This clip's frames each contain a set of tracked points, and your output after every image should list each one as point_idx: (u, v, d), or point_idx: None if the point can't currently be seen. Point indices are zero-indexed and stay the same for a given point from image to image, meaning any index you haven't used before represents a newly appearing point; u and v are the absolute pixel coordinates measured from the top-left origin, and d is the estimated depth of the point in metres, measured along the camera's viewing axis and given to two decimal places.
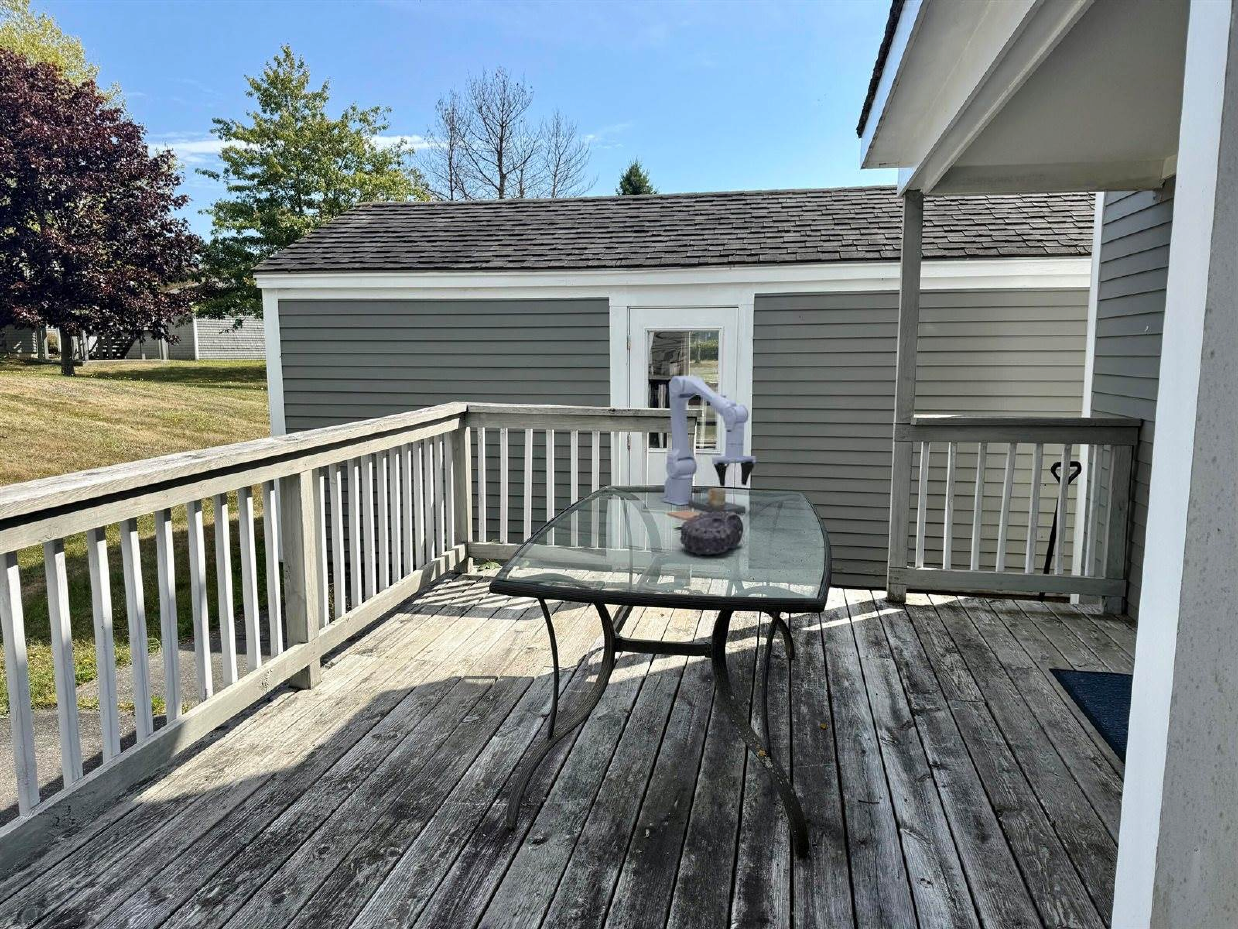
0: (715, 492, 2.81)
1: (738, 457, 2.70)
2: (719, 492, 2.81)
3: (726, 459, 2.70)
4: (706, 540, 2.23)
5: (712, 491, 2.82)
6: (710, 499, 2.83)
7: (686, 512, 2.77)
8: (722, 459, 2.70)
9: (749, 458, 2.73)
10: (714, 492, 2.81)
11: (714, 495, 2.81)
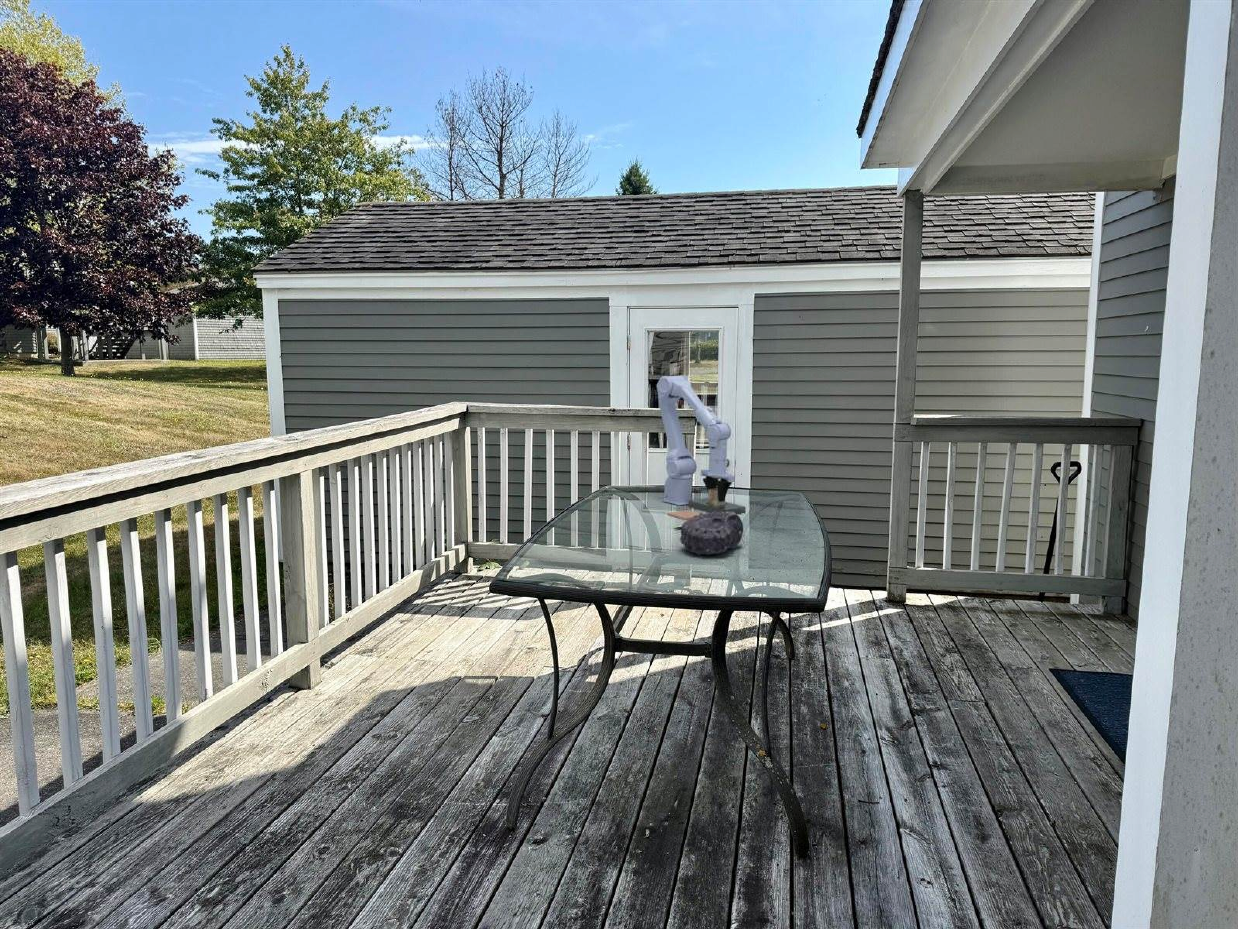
0: (715, 492, 2.81)
1: (711, 472, 2.80)
2: None
3: (705, 472, 2.84)
4: (706, 540, 2.23)
5: (712, 491, 2.82)
6: (710, 499, 2.83)
7: (686, 512, 2.77)
8: (704, 472, 2.85)
9: (723, 476, 2.77)
10: (714, 492, 2.81)
11: (714, 495, 2.81)
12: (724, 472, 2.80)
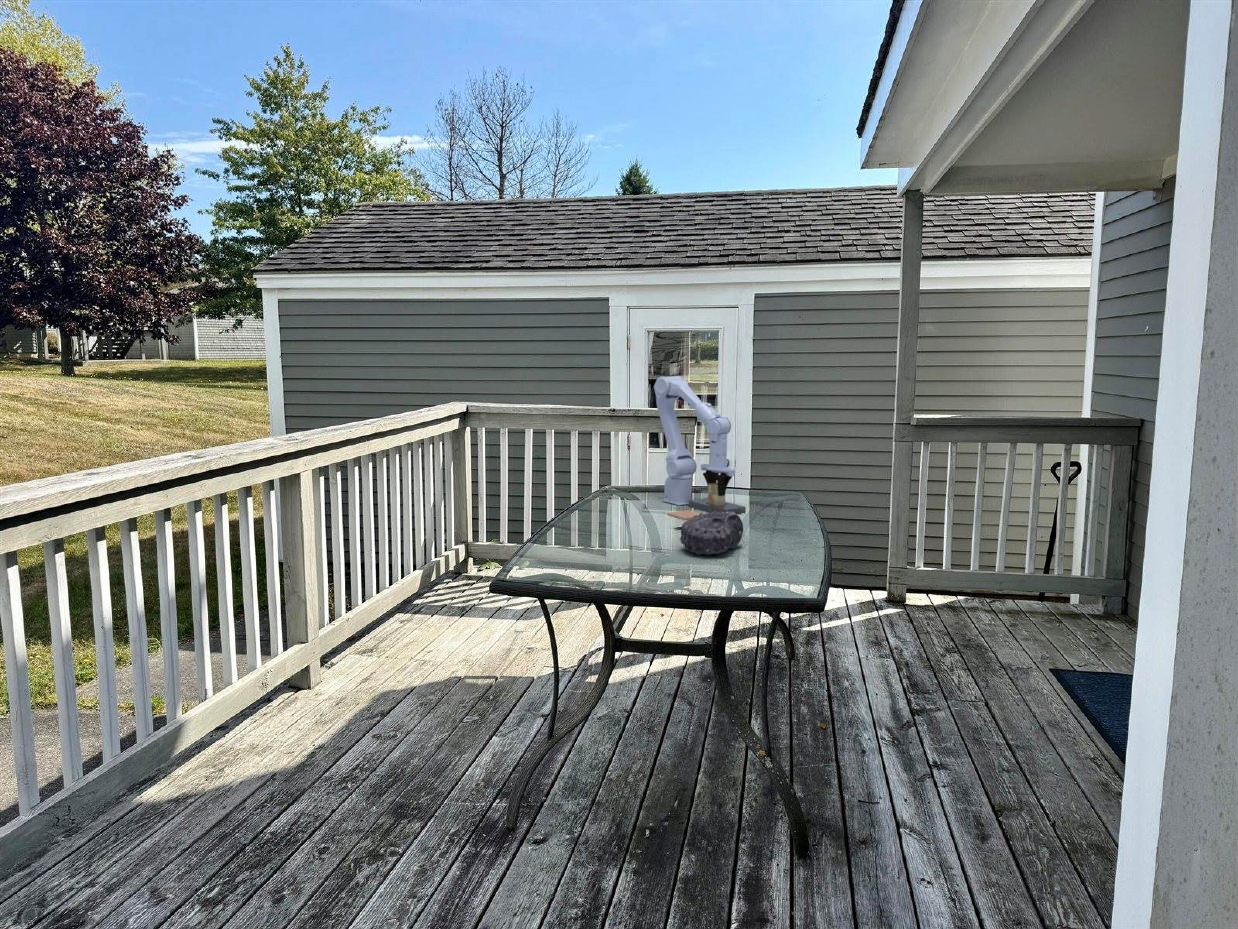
0: (715, 486, 2.80)
1: (711, 466, 2.80)
2: None
3: (706, 467, 2.83)
4: (706, 540, 2.23)
5: (712, 485, 2.81)
6: (710, 493, 2.82)
7: (686, 512, 2.77)
8: (704, 466, 2.85)
9: (724, 470, 2.77)
10: (714, 486, 2.81)
11: (714, 489, 2.81)
12: (724, 466, 2.80)
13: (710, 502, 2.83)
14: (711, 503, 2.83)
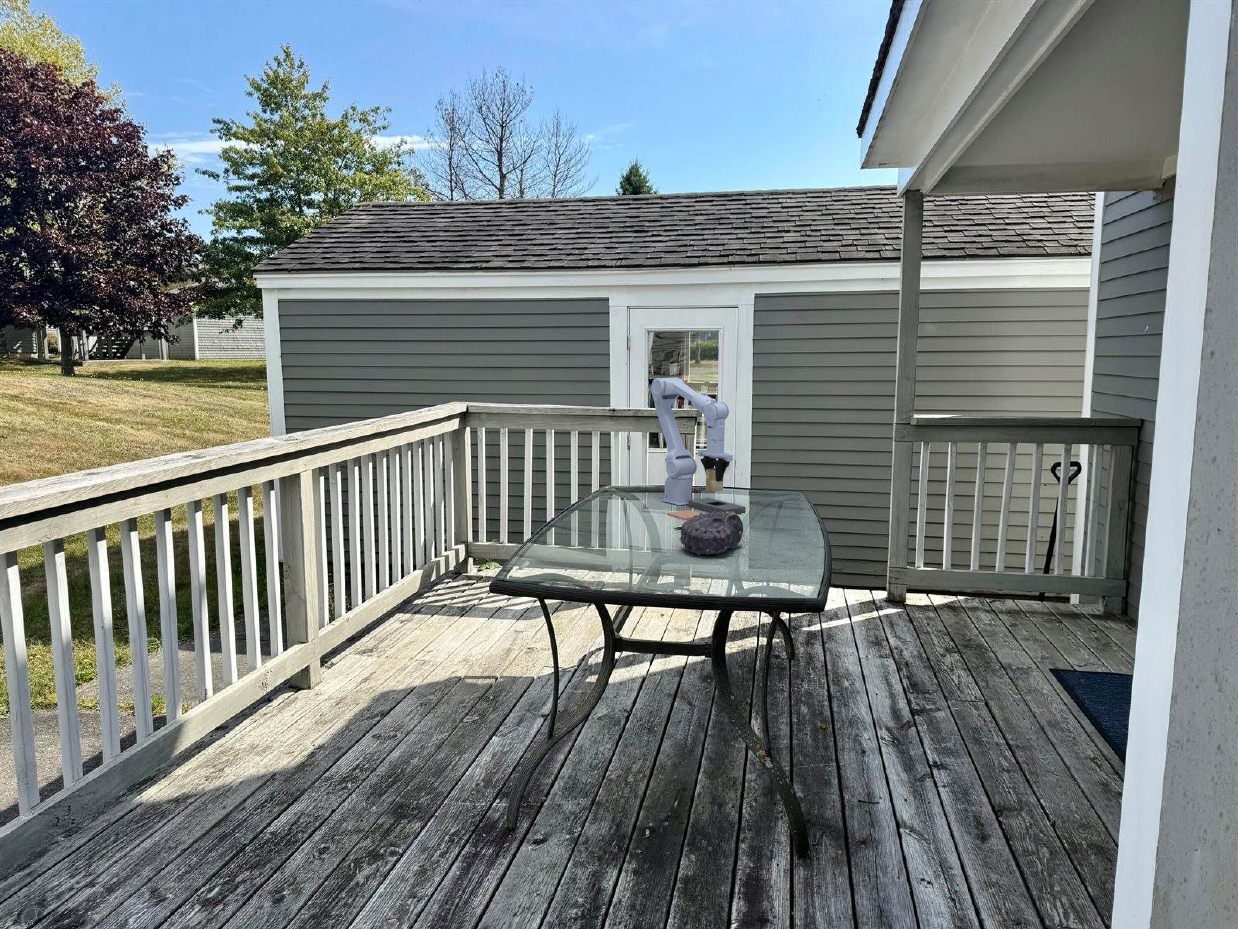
0: (713, 472, 2.79)
1: (709, 452, 2.78)
2: None
3: (703, 452, 2.82)
4: (706, 540, 2.23)
5: (710, 471, 2.80)
6: (708, 479, 2.81)
7: (686, 512, 2.77)
8: (702, 452, 2.83)
9: (721, 455, 2.75)
10: (712, 472, 2.79)
11: (712, 475, 2.79)
12: (722, 452, 2.78)
13: (708, 488, 2.81)
14: (709, 489, 2.81)
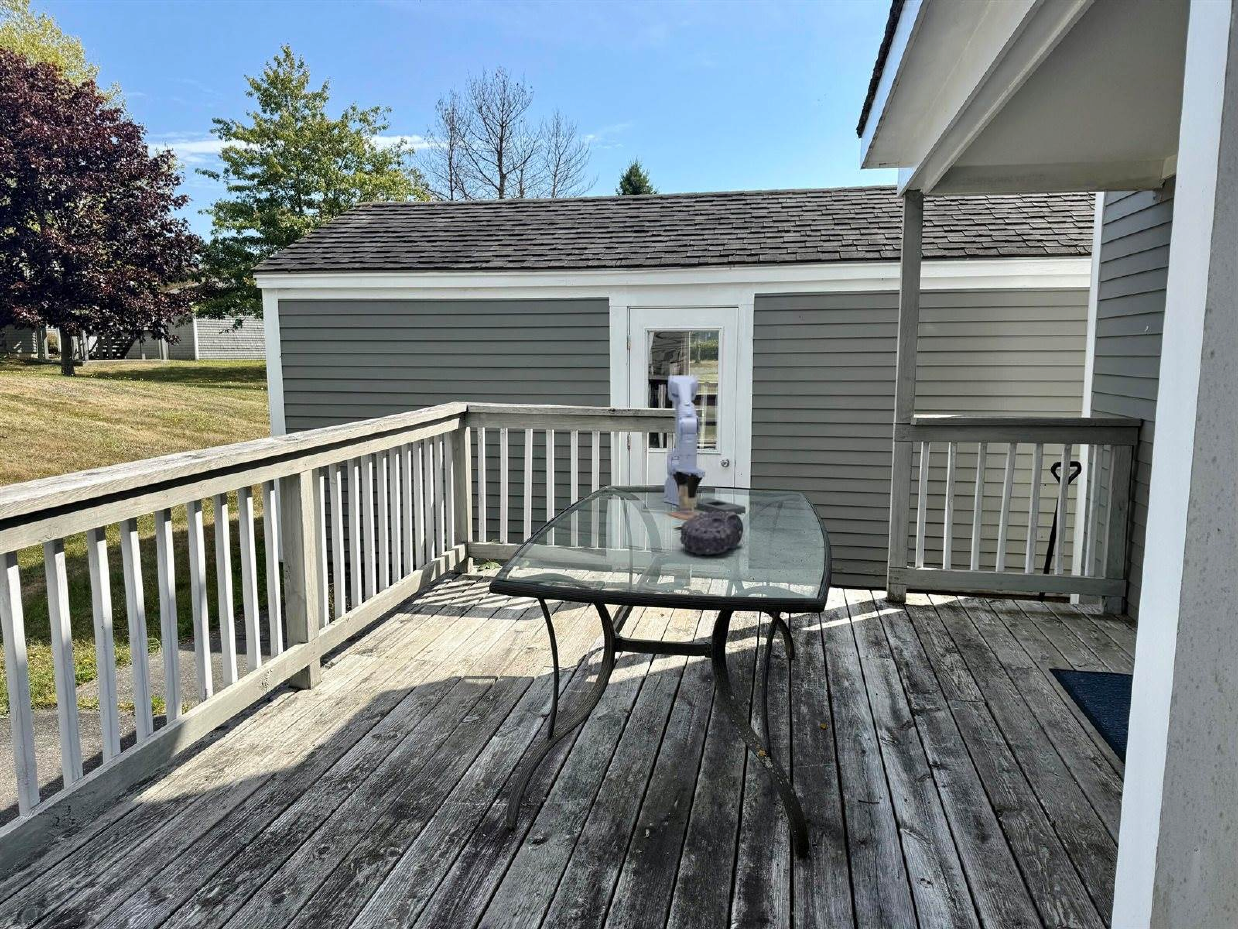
0: (686, 488, 2.71)
1: (681, 468, 2.71)
2: None
3: (675, 468, 2.74)
4: (706, 540, 2.23)
5: (683, 487, 2.72)
6: (681, 495, 2.73)
7: (686, 512, 2.77)
8: (674, 467, 2.75)
9: (693, 471, 2.68)
10: (685, 488, 2.72)
11: (684, 491, 2.72)
12: (694, 467, 2.70)
13: (681, 505, 2.74)
14: (682, 505, 2.74)
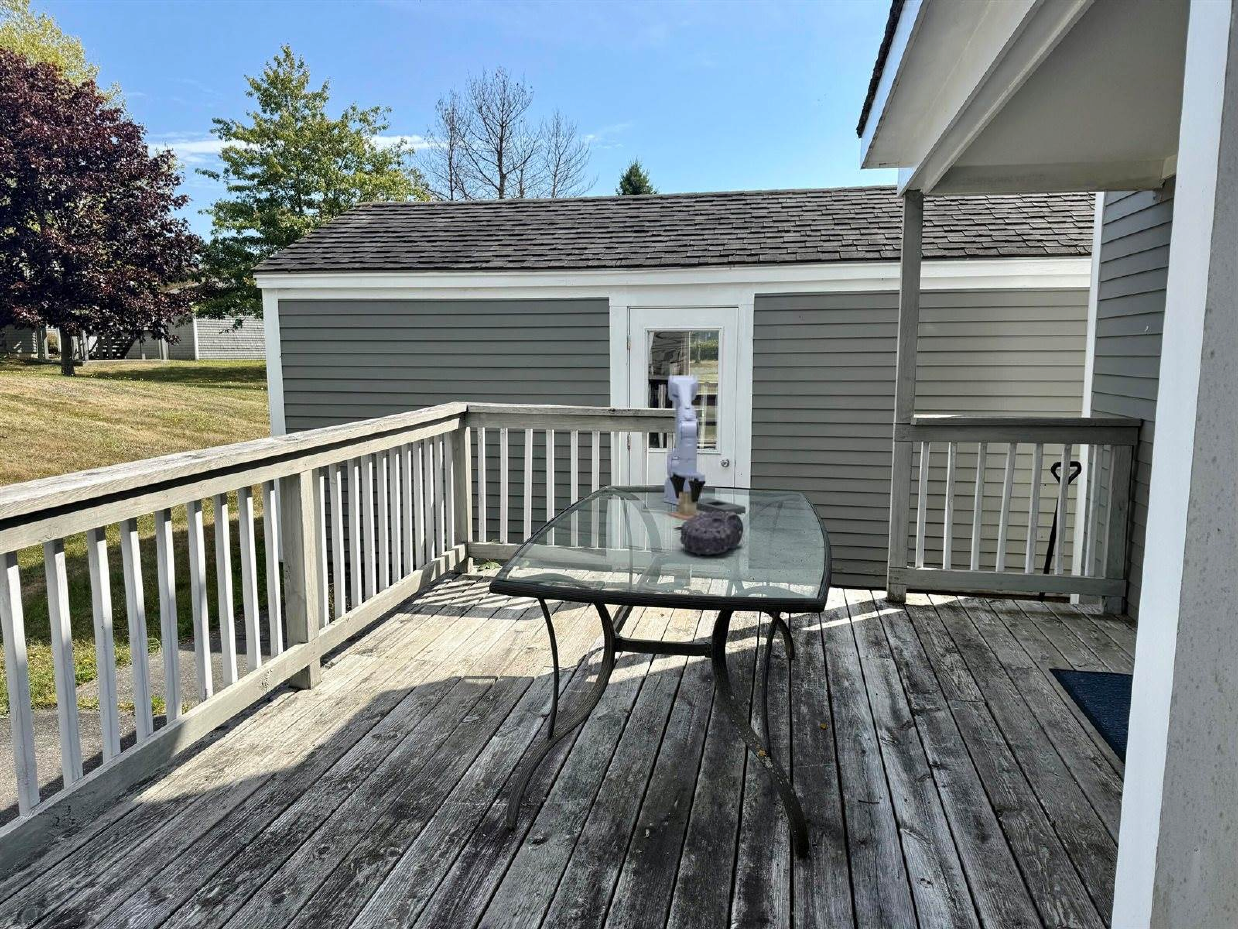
0: (686, 495, 2.72)
1: (681, 471, 2.71)
2: (690, 495, 2.72)
3: (675, 471, 2.74)
4: (706, 540, 2.23)
5: (683, 494, 2.73)
6: (681, 502, 2.74)
7: None
8: (674, 471, 2.76)
9: (693, 475, 2.68)
10: (685, 495, 2.72)
11: (684, 498, 2.72)
12: (694, 471, 2.71)
13: (680, 512, 2.74)
14: (682, 512, 2.74)
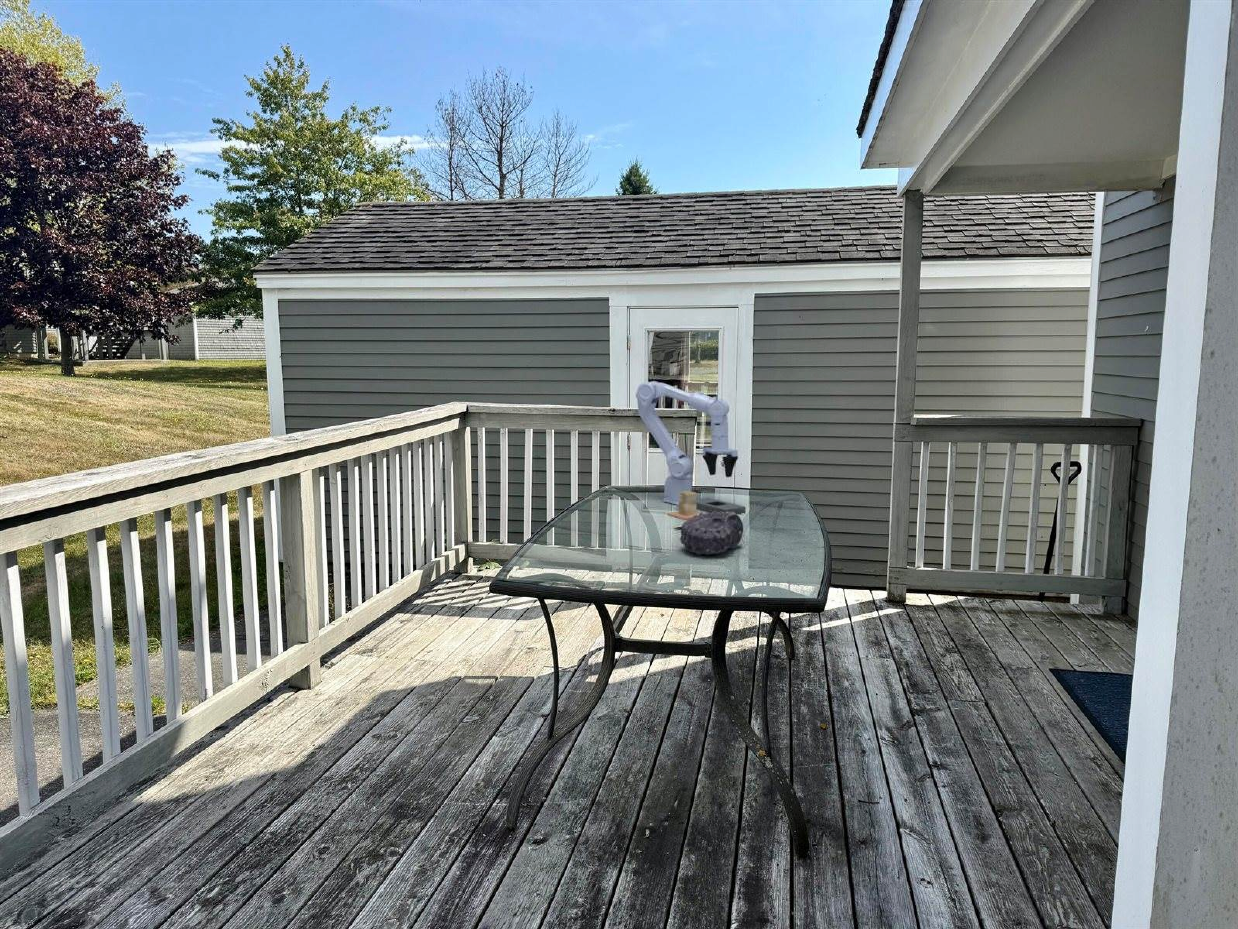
0: (686, 495, 2.72)
1: (714, 448, 2.86)
2: (690, 495, 2.72)
3: (708, 449, 2.89)
4: (706, 540, 2.23)
5: (683, 494, 2.73)
6: (681, 502, 2.74)
7: None
8: (706, 449, 2.90)
9: (727, 451, 2.83)
10: (685, 495, 2.72)
11: (684, 498, 2.72)
12: (727, 447, 2.86)
13: (680, 512, 2.74)
14: (682, 512, 2.74)
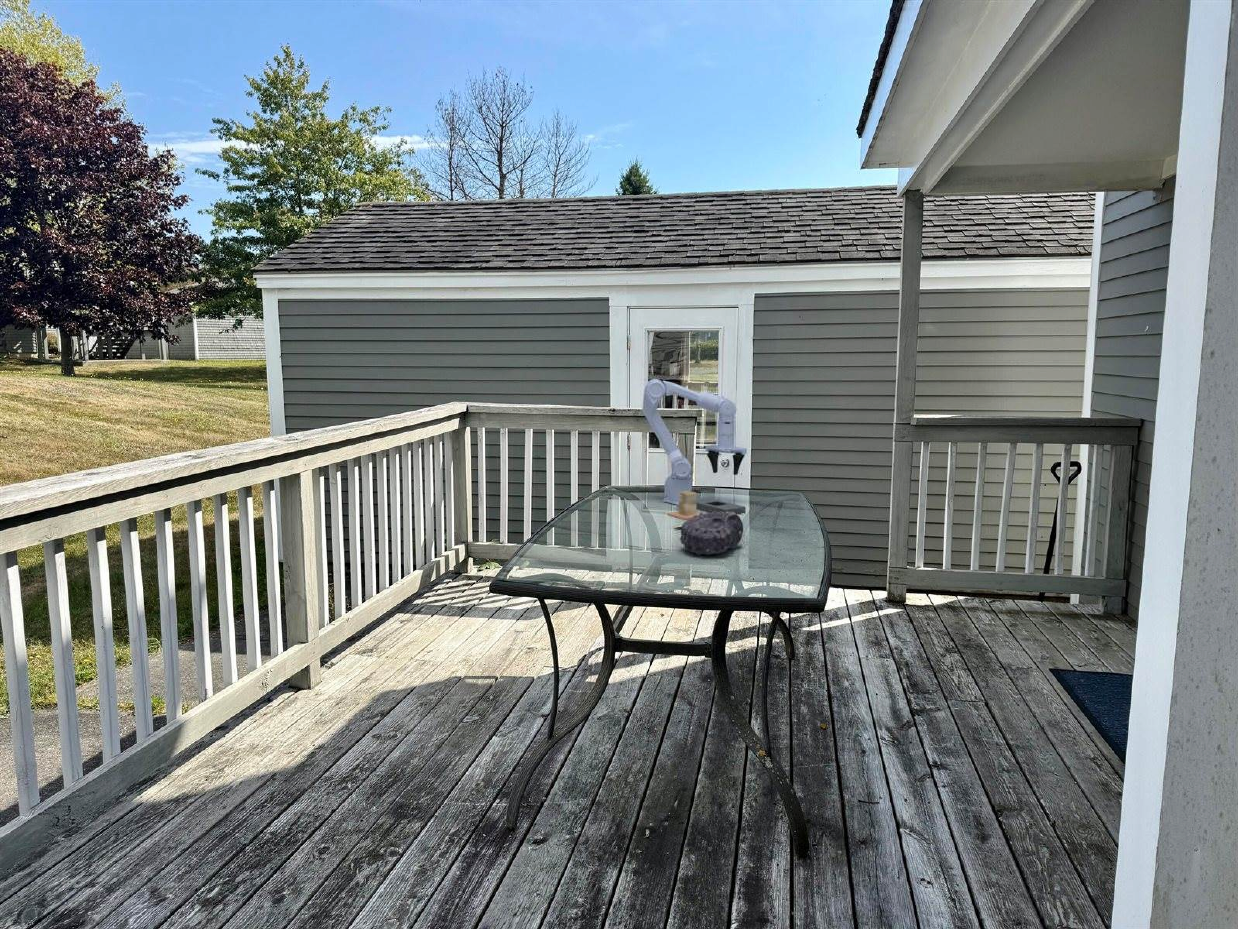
0: (686, 495, 2.72)
1: (722, 447, 2.90)
2: (690, 495, 2.72)
3: (714, 448, 2.92)
4: (706, 540, 2.23)
5: (683, 494, 2.73)
6: (681, 502, 2.74)
7: None
8: (711, 447, 2.93)
9: (736, 449, 2.89)
10: (685, 495, 2.72)
11: (684, 498, 2.72)
12: None
13: (680, 512, 2.74)
14: (682, 512, 2.74)
